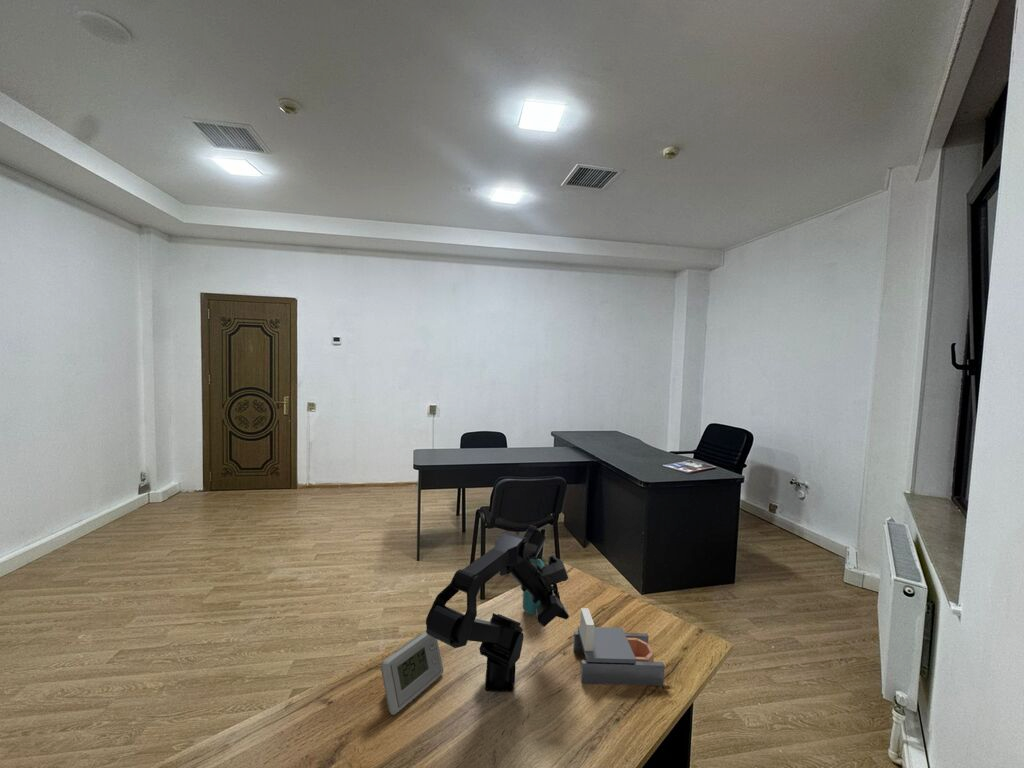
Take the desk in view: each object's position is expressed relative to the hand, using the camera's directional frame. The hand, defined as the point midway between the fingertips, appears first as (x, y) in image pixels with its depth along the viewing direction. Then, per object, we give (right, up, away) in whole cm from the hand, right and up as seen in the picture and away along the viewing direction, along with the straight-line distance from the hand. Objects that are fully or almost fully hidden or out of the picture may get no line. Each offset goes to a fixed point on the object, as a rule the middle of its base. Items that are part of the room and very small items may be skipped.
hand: (567, 617), depth 104 cm
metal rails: (+13, -13, +1) cm, 18 cm away
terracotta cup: (+18, -13, +1) cm, 22 cm away
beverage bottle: (-8, -12, +22) cm, 26 cm away
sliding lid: (+10, -8, 0) cm, 12 cm away
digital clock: (-37, -12, -10) cm, 40 cm away
